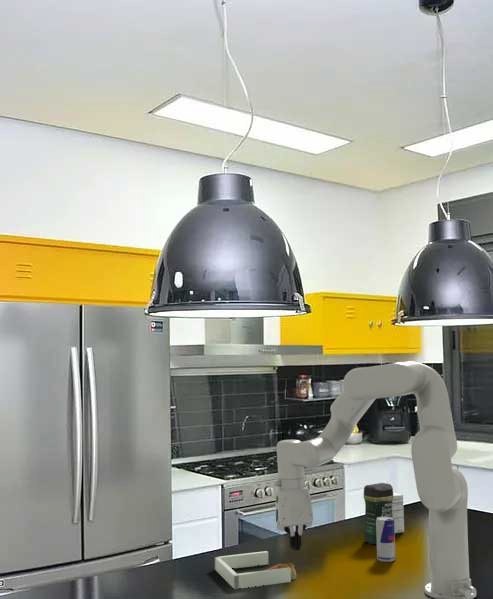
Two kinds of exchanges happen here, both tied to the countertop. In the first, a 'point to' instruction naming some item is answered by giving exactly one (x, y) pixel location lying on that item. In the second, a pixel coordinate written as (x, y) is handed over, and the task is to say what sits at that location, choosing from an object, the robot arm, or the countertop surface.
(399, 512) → the supplement box
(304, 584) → the countertop surface
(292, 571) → the pastry
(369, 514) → the coffee jar
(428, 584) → the robot arm
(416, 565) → the countertop surface
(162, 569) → the countertop surface
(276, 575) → the c-shaped clip
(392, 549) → the energy drink
